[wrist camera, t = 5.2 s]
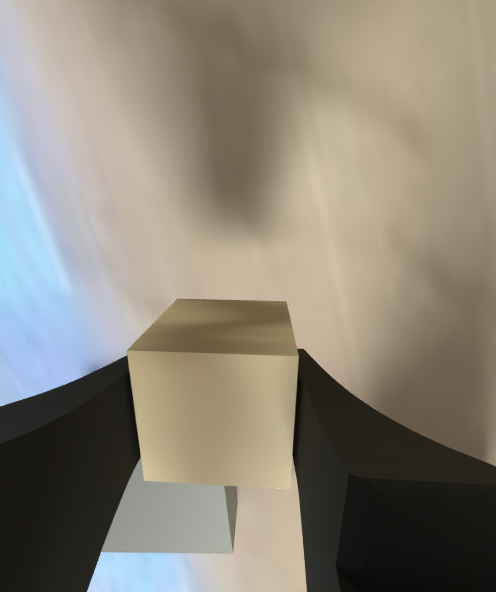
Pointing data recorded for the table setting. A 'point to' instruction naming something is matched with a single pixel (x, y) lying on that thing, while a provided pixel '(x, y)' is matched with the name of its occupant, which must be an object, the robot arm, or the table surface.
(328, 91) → the table surface
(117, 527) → the gray block
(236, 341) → the oak cube
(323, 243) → the table surface
